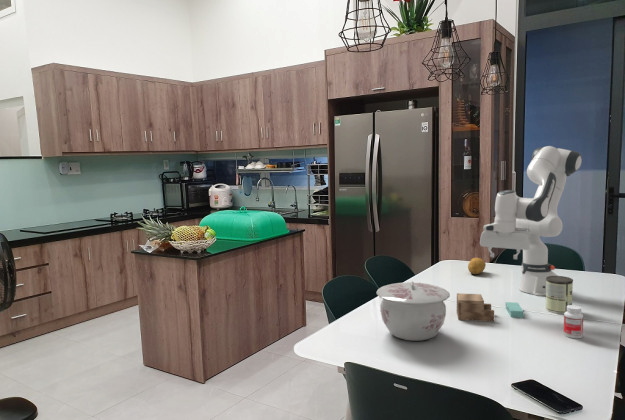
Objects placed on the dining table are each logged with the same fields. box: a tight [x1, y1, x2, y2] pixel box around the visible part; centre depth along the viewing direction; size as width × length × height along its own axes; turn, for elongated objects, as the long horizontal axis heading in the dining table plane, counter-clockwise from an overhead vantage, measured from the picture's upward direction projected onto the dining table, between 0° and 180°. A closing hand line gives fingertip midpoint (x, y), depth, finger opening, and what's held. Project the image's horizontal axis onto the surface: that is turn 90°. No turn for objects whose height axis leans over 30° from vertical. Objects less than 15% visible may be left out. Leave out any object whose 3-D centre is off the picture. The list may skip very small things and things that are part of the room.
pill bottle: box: [563, 304, 584, 339], centre depth 168 cm, size 6×6×11 cm
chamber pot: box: [376, 281, 451, 342], centre depth 173 cm, size 28×28×21 cm
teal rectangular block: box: [505, 301, 525, 319], centre depth 195 cm, size 12×5×3 cm, turn 166°
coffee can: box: [545, 275, 574, 315], centre depth 196 cm, size 10×10×14 cm
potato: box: [467, 257, 486, 275], centre depth 263 cm, size 10×13×9 cm
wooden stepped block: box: [456, 292, 495, 322], centre depth 191 cm, size 14×10×8 cm
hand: (503, 258), depth 200 cm, fingers open, 8 cm apart
